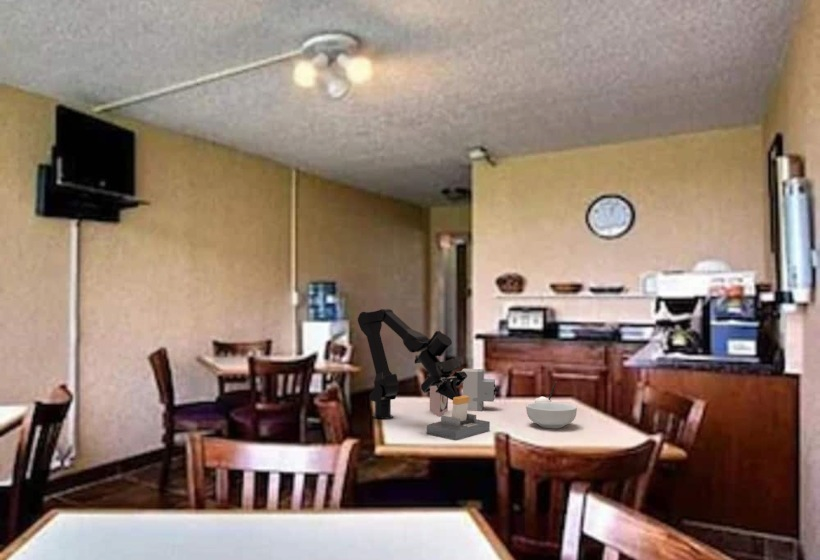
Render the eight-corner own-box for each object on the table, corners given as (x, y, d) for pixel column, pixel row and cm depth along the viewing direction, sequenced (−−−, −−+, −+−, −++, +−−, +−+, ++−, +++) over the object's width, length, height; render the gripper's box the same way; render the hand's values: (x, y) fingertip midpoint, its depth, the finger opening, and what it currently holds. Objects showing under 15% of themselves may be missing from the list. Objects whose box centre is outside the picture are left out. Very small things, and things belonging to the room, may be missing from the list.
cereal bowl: (580, 423, 236) (580, 403, 236) (571, 433, 221) (571, 412, 221) (533, 419, 243) (533, 399, 243) (520, 428, 228) (520, 407, 228)
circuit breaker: (497, 411, 256) (498, 372, 256) (460, 410, 259) (460, 371, 259) (499, 408, 264) (499, 369, 264) (462, 406, 266) (463, 368, 266)
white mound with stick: (529, 414, 253) (527, 382, 253) (535, 411, 258) (534, 380, 258) (553, 416, 248) (551, 384, 248) (559, 413, 253) (557, 381, 253)
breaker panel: (426, 433, 219) (426, 417, 219) (461, 425, 232) (461, 409, 232) (455, 440, 211) (456, 422, 211) (489, 430, 224) (489, 414, 224)
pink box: (441, 417, 246) (441, 375, 246) (422, 415, 248) (422, 374, 248) (449, 411, 257) (450, 371, 257) (431, 409, 259) (431, 370, 259)
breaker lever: (450, 422, 220) (453, 397, 219) (462, 419, 225) (465, 395, 224) (454, 424, 219) (457, 399, 218) (466, 421, 223) (469, 396, 223)
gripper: (427, 351, 218) (454, 389, 211) (463, 347, 232) (489, 383, 225) (409, 373, 224) (434, 411, 216) (445, 368, 237) (470, 403, 230)
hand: (458, 401), depth 222 cm, fingers closed, pressing on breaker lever
